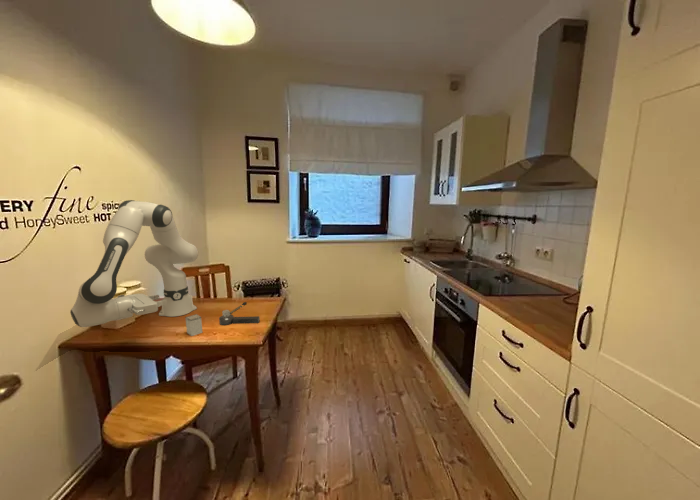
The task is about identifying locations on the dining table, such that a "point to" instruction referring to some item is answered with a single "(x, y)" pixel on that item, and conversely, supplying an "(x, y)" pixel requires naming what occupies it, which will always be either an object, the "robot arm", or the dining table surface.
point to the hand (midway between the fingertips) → (162, 298)
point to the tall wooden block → (193, 325)
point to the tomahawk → (237, 308)
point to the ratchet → (236, 319)
